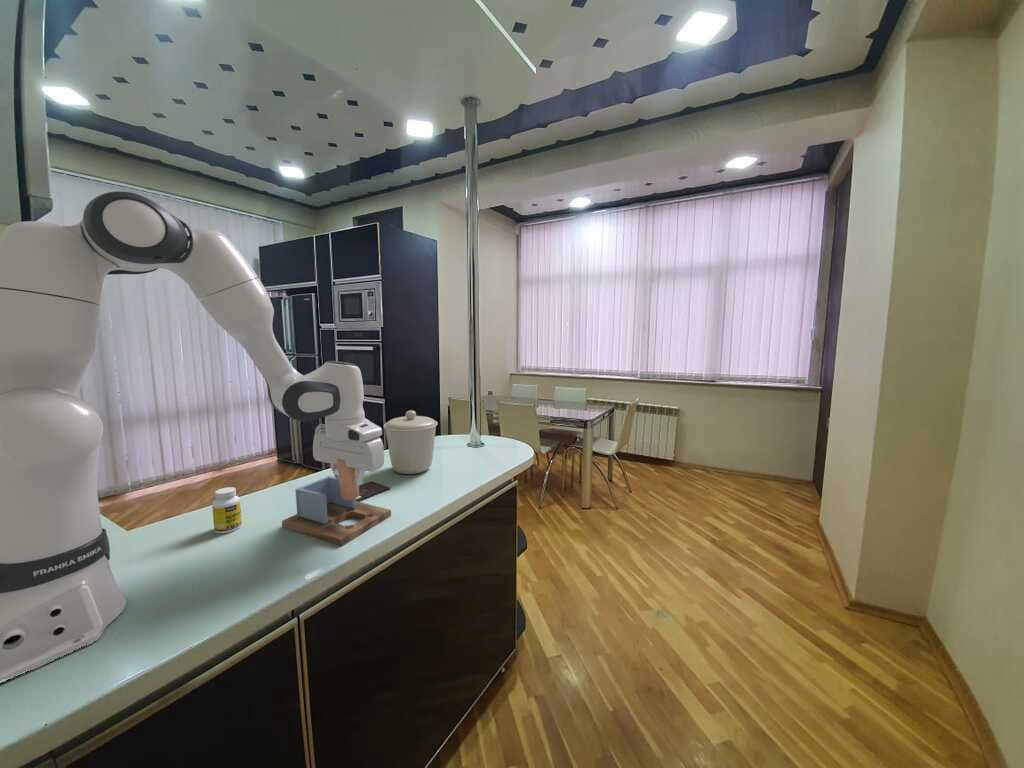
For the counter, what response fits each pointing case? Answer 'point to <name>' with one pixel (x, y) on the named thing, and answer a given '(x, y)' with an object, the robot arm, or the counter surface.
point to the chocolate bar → (370, 490)
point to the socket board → (336, 515)
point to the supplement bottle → (226, 510)
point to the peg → (346, 481)
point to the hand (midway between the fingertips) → (348, 482)
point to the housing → (319, 499)
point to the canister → (411, 442)
